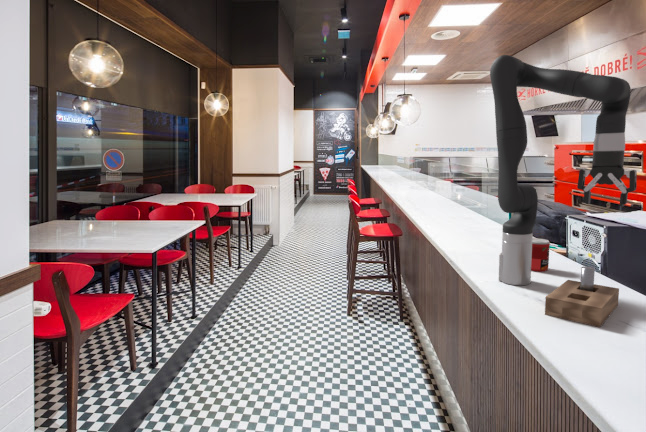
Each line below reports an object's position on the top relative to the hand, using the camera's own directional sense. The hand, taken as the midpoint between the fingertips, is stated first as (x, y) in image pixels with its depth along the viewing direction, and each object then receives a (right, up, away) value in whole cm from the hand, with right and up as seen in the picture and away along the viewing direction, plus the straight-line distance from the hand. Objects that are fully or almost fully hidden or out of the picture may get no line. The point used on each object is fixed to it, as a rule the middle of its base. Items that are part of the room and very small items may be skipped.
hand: (604, 205), depth 124 cm
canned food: (-3, -23, +34) cm, 41 cm away
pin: (-8, -28, -3) cm, 29 cm away
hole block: (-11, -30, -6) cm, 32 cm away
